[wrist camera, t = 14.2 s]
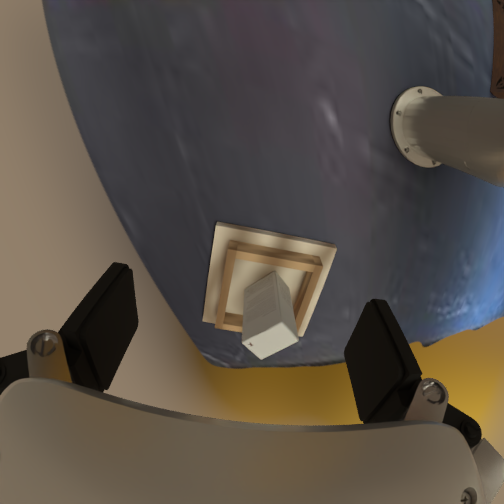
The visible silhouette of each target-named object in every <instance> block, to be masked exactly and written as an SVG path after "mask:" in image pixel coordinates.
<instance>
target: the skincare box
mask: <svg viewBox="0 0 504 504" xmlns="http://www.w3.org/2000/svg"><path fill="white" fill-rule="evenodd" d="M298 341H299V339H298V333H297V327H296V322H295V316H294V311H293V305H292V300H291V295H290V289H289V287H288V286H287V285H286V283H285V282H284V281H283V280H282V278H281V277H280V276H279V275H278V273H277V272H276V271H273V272H272V273H270V274H269V275H267V276H265V277H264V278H262V279H261V280H259V281H257V282H256V283H254V284H252V285H251V286H249V287H247V288H246V289H244V306H243V326H242V344H244V345H245V346H246V347H247V348H248V349H249V350H250V351H252V352H253V353H254V354H255V355H256V356H257V357H258V358H260V359H264V358H265V357H267V356H270V355H272V354H274V353H276V352H278V351H280V350H282V349H284V348H286V347H288V346H290V345H292V344H294V343H296V342H298Z"/></svg>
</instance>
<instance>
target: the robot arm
mask: <svg viewBox="0 0 504 504" xmlns="http://www.w3.org/2000/svg"><path fill="white" fill-rule="evenodd" d="M396 112H397V114H396ZM390 123H391V132H392V136H393V139H394V141H395V144H396V146H397V148H398V149H399V151H400V152H401V153H402V155H403V156H404V157H405V158H406V159H408V160H409V161H410V162H412V163H414V164H416V165H418V166H421V167H426V168H430V167H436V166H439V165H441V164H445V165H448V166H450V167H453V168H455V169H458V170H460V171H463V172H465V173H468V174H470V175H472V176H475V177H477V178H479V179H482V180H484V181H486V182H488V183H491V184H493V185H495V186H498V187H504V99H499V98H487V97H471V96H442V95H441V94H440V93H438V92H437V91H436V90H434V89H431V88H429V87H424V86H417V87H411V88H409V89H407V90H405V91H404V92H402V93H401V94H400V95H399V96H398V98H397V99H396V101H395V103H394V105H393V108H392V111H391V119H390ZM404 149H405V151H404ZM137 327H138V315H137V307H136V299H135V290H134V281H133V271H132V269H129V267H128V265H127V264H122V263H117V262H114V263H113V264H112V265H111V266H110V267H109V268H108V269H107V271H106V272H105V273H104V274H103V275H102V276H101V278H100V279H99V280H98V281H97V283H96V284H95V285H94V286H93V288H92V289H91V290H90V291H89V292H88V294H87V295H86V296H85V297H84V299H83V300H82V301H81V302H80V304H79V305H78V306H77V308H76V309H75V310H74V312H73V313H72V314H71V315H70V317H69V318H68V320H67V321H66V322H65V323H64V325H63V326H62V328H61V329H60V330H59V332H58V333H57V332H55V331H53V330H48V329H47V330H41V331H38V332H37V333H35V334H33V335H32V336H31V338H30V339H29V341H28V343H27V350H25V351H21V352H18V353H15V354H11V355H8V356H5V357H2V358H0V504H491V502H492V501H493V499H494V497H495V496H496V494H497V492H498V491H499V489H500V487H501V486H502V483H503V482H504V459H503V458H502V456H501V455H500V454H499V453H498V452H497V451H496V450H495V449H494V448H493V446H492V445H491V444H490V443H489V442H488V441H487V440H486V439H485V438H483V439H482V440H481V435H482V434H481V428H480V426H479V424H478V423H477V422H476V421H475V420H474V419H472V418H471V417H469V416H468V415H466V414H464V413H463V412H461V411H460V410H458V409H456V408H455V407H453V406H452V405H450V404H449V403H448V397H449V396H448V392H447V390H446V388H445V386H444V385H443V384H442V383H441V382H439V381H438V380H436V379H433V378H426V379H423V380H422V379H421V375H422V372H421V370H420V368H419V365H418V363H417V361H416V359H415V357H414V354H413V353H412V350H411V348H410V346H409V344H408V342H407V340H406V338H405V336H404V334H403V332H402V330H401V328H400V326H399V324H398V322H397V320H396V318H395V316H394V315H393V313H392V311H391V309H390V307H389V305H388V303H387V302H386V300H380V299H372V300H371V301H370V302H367V303H366V305H365V307H364V309H363V312H362V314H361V316H360V318H359V320H358V323H357V325H356V327H355V329H354V331H353V333H352V335H351V337H350V339H349V341H348V343H347V345H346V347H345V351H344V357H345V360H346V364H347V368H348V372H349V376H350V380H351V384H352V388H353V392H354V397H355V401H356V405H357V410H358V414H359V418H360V420H361V421H363V423H364V424H354V425H333V426H332V425H330V426H298V425H273V424H259V423H248V422H238V421H230V420H222V419H215V418H209V417H202V416H196V415H191V414H185V413H180V412H175V411H170V410H166V409H161V408H157V407H153V406H148V405H145V404H141V403H137V402H133V401H130V400H126V399H122V398H119V397H116V396H112V395H109V394H106V393H103V391H104V390H108V389H109V386H110V384H111V382H112V380H113V378H114V376H115V373H116V371H117V369H118V367H119V365H120V363H121V361H122V358H123V356H124V354H125V352H126V350H127V348H128V346H129V344H130V342H131V340H132V337H133V336H134V334H135V332H136V330H137Z"/></svg>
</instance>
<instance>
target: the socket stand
mask: <svg viewBox="0 0 504 504" xmlns="http://www.w3.org/2000/svg"><path fill="white" fill-rule="evenodd" d="M336 250H337V248H336V246H335V244H330V243H326V242H321V241H316V240H311V239H306V238H301V237H296V236H291V235H286V234H281V233H276V232H271V231H265V230H260V229H255V228H250V227H244V226H239V225H234V224H228V223H223V222H217V224H216V228H215V235H214V241H213V248H212V255H211V262H210V269H209V276H208V283H207V291H206V299H205V307H204V315H203V321H204V322H209V323H215V328H219V329H225V330H230V331H236V332H242V326H243V306H244V289H246V288H247V287H249V286H251V285H252V284H254V283H256V282H257V281H259V280H261V279H262V278H264V277H265V276H267V275H269V274H270V273H272V272H273V271H276V272H277V273H278V275H279V276H280V277H281V278H282V280H283V281H284V282H285V283H286V285H287V286H288V287H289V289H290V295H291V300H292V305H293V311H294V316H295V322H296V327H297V333H298V336H302V337H303V335H304V332H305V330H306V328H307V325H308V323H309V321H310V318H311V316H312V313H313V311H314V308H315V306H316V303H317V301H318V298H319V296H320V293H321V291H322V288H323V286H324V283H325V280H326V278H327V275H328V272H329V270H330V267H331V264H332V261H333V259H334V256H335V253H336Z"/></svg>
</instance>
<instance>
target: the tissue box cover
mask: <svg viewBox="0 0 504 504" xmlns="http://www.w3.org/2000/svg"><path fill="white" fill-rule="evenodd" d="M492 2H493V17H494V53H493V69H492V80H491V89H490V92H491V93H492V94H493V95H494V96H496V97H497V98H499V99H504V0H492Z"/></svg>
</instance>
